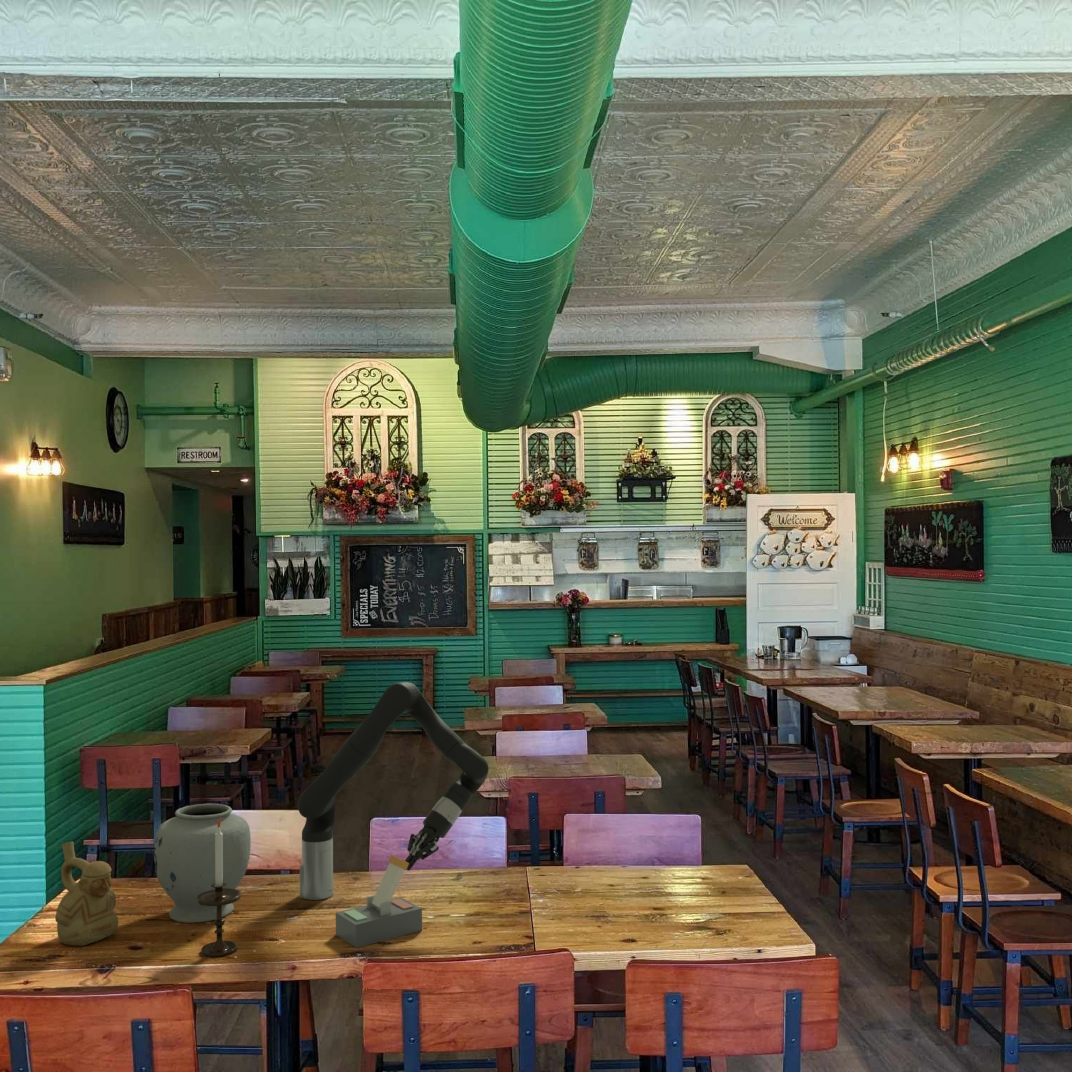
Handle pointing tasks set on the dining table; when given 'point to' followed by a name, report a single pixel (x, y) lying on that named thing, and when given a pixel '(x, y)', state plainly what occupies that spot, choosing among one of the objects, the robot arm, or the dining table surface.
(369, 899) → the switch box
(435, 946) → the dining table surface
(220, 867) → the candlestick
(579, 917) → the dining table surface
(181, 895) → the ceramic vase
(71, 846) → the ceramic vessel
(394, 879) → the lever
